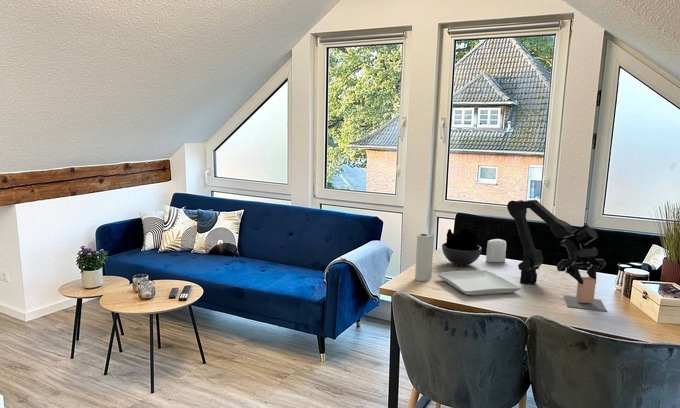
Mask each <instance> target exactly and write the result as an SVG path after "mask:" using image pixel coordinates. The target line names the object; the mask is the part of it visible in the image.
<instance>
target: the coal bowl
mask: <svg viewBox="0 0 680 408" xmlns="http://www.w3.org/2000/svg"><path fill="white" fill-rule="evenodd" d="M476 238H477V235H476V233H474V232H472V230H471V231H470V230H469V229H468V228H463V229H462V230H459V233H458V234H457V233H456V234H454V233H453V232H452V229H451V228H449V229H448V230H447V232H446V242H445V243H443V244H442V245H441V249H442V252H443V255H444V257H445V258H446V260H448V261H449V262H450V263H452V264H454V265H456V266H458V267H459V266H462V267H464V266H469V265H471V264H473V263H474V262H476V261H477V260H478V259H479V258H480V255H481V254H482V251H483V249H482V246H480V245H478V244H477V240H476Z"/></svg>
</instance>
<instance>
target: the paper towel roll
mask: <svg viewBox="0 0 680 408" xmlns="http://www.w3.org/2000/svg"><path fill="white" fill-rule="evenodd" d="M416 237H417V238H416V250H415V251H416V254H415V273H414V274H415V275H414V279H415V280H416V281H417V282H427V281H429V280H431V279H432V275H433V274H432V273H433V257H434V256H433V255H434V237H435V234H428V233H418V234H417V235H416Z"/></svg>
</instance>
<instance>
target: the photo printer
mask: <svg viewBox="0 0 680 408" xmlns="http://www.w3.org/2000/svg"><path fill="white" fill-rule="evenodd" d="M506 251H507V242H506V240H504V239H500V238H494V239H490V240H487V245H486V256H485V261H486V262H487V263H505V262H506V255H507V253H506Z"/></svg>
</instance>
